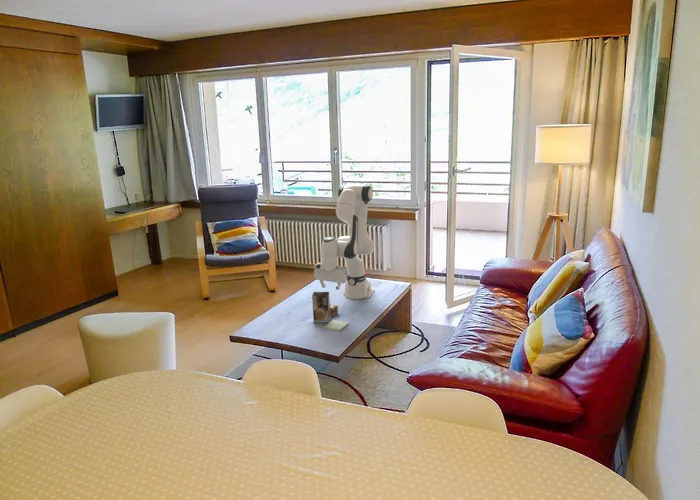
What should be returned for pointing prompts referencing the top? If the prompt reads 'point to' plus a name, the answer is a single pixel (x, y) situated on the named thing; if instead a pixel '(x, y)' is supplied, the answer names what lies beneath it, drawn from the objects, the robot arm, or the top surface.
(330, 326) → the sage board
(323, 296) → the coffee box
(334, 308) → the walnut cube
